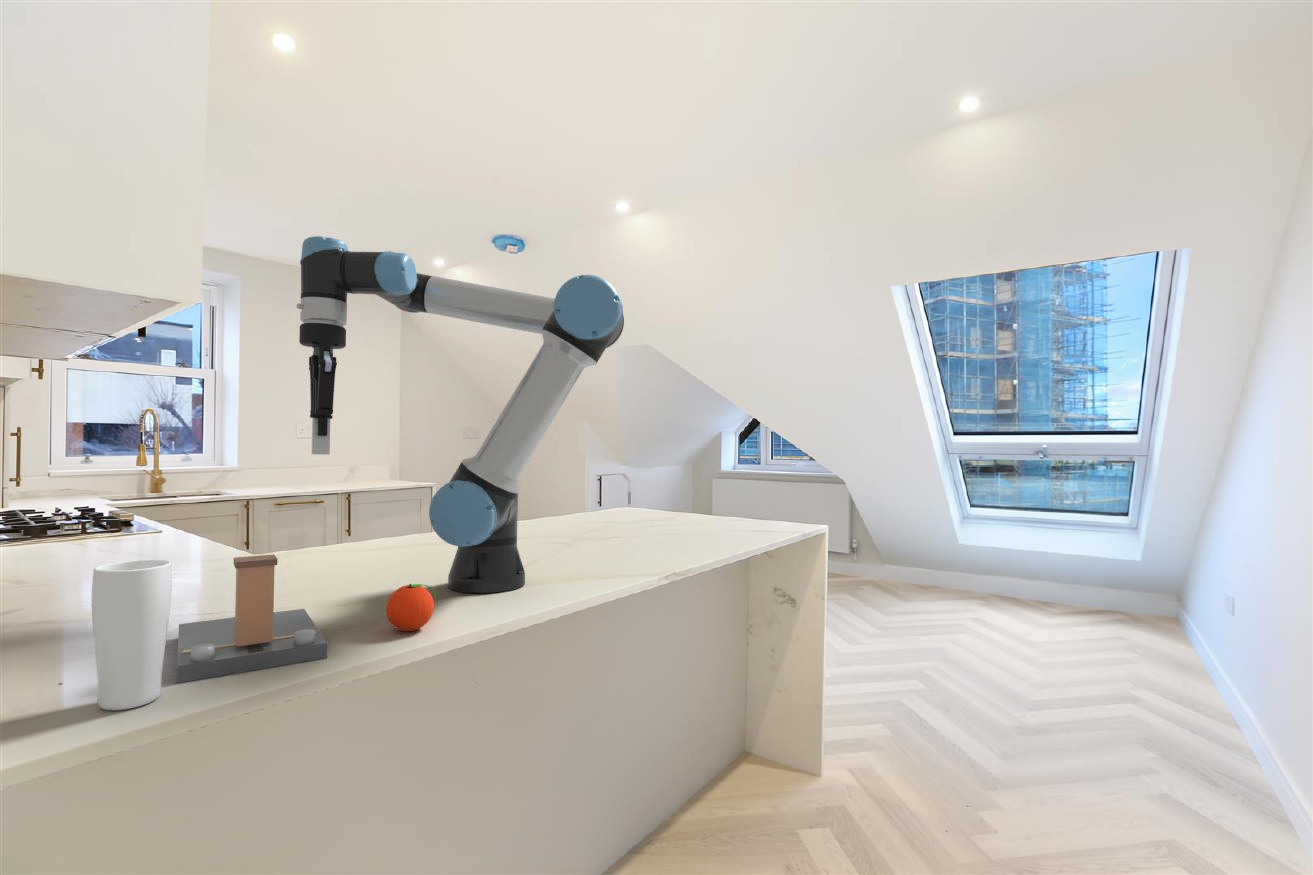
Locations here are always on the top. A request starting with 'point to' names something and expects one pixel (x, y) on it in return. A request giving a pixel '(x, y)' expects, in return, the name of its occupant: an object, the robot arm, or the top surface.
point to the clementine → (410, 607)
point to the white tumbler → (130, 630)
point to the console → (246, 646)
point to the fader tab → (254, 599)
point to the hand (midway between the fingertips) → (320, 454)
